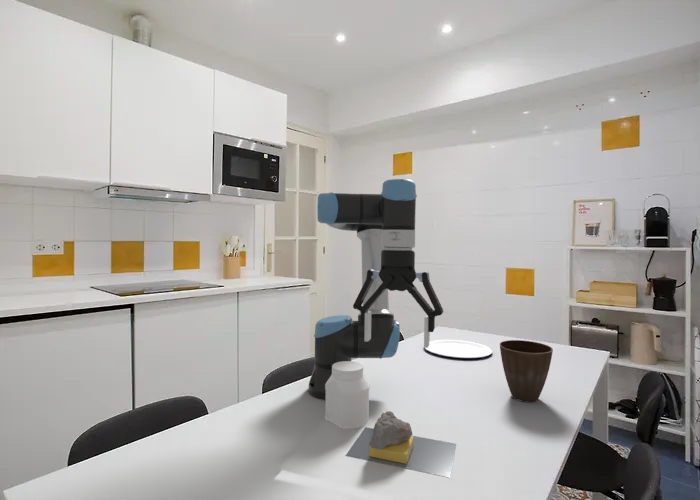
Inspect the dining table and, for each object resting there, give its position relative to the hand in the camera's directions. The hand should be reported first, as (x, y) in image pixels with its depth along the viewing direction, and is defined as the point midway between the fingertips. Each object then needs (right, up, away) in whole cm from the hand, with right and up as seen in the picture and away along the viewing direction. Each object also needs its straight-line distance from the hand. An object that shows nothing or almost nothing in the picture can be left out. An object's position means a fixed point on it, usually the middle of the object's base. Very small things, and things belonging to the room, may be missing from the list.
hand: (396, 343), depth 89 cm
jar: (-11, -24, +14) cm, 30 cm away
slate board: (+1, -25, -1) cm, 25 cm away
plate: (+37, -24, +85) cm, 96 cm away
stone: (-2, -22, -2) cm, 22 cm away
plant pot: (+43, -25, +32) cm, 59 cm away
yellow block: (0, -22, +2) cm, 22 cm away
